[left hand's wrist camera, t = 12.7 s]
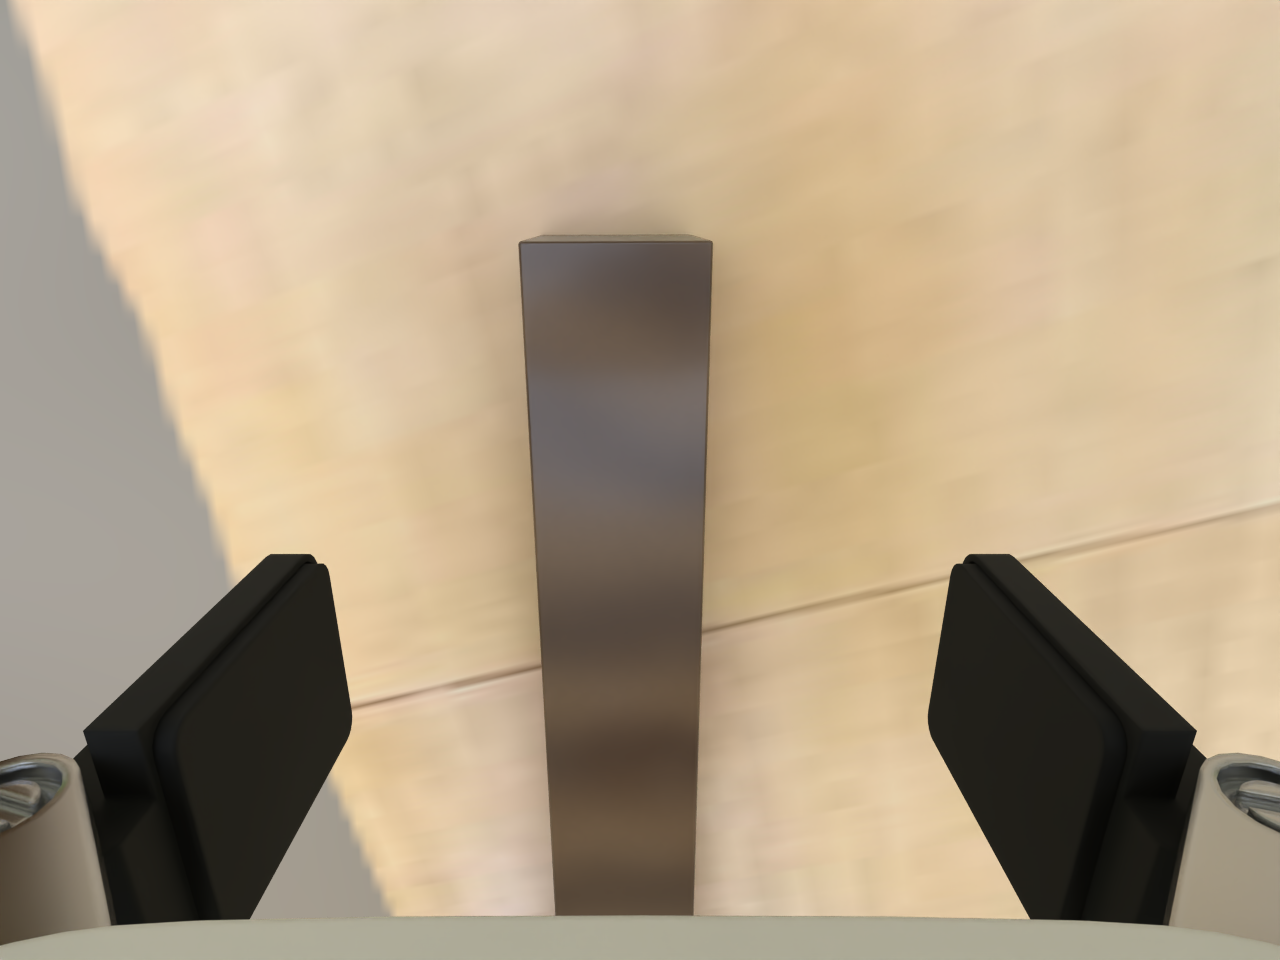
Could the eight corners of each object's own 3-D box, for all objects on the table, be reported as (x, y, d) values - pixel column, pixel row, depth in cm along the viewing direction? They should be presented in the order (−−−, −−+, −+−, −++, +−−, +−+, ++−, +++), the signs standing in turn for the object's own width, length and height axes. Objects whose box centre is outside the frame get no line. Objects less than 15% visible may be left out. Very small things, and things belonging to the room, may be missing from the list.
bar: (539, 235, 28) (518, 241, 22) (691, 234, 28) (713, 240, 22) (579, 1120, 45) (574, 1262, 39) (674, 1116, 46) (683, 1258, 39)
